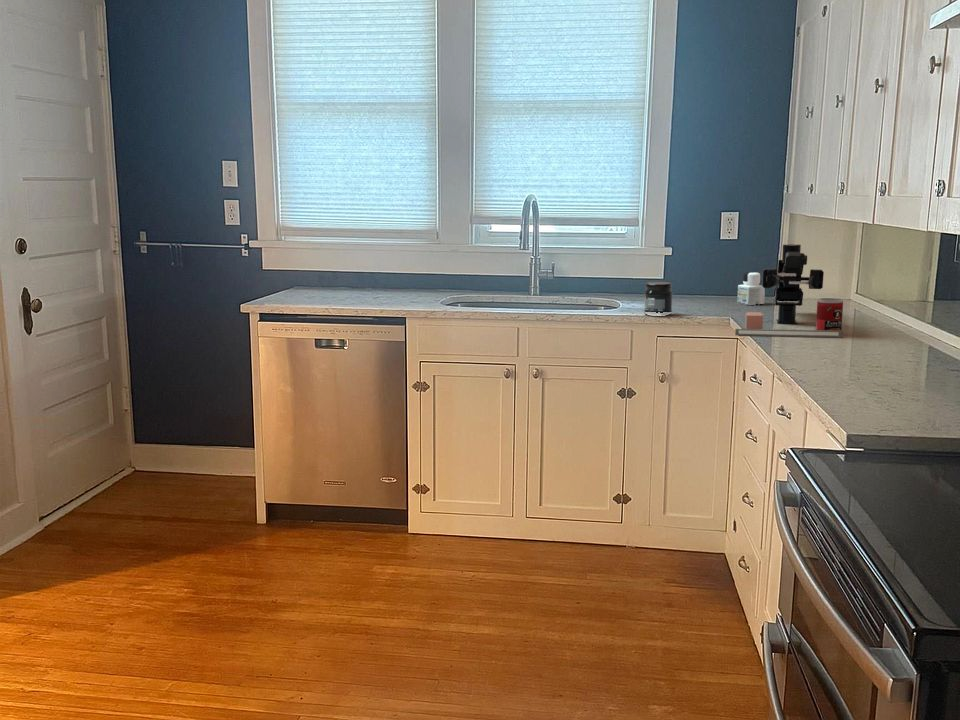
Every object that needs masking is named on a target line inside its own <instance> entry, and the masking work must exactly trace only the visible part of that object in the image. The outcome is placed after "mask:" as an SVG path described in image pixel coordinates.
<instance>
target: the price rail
mask: <svg viewBox="0 0 960 720" xmlns="http://www.w3.org/2000/svg"><path fill="white" fill-rule="evenodd" d="M734 333H735V336H752V337H753V336H756V337H760V336H762V337H765V336H766V337H793V338H794V337H795V338H796V337H802V338H806V337H807V338H808V337H809V338H842V337H843V330H842V331H833V330H816V329H775V328H774V329H773V328H772V329H770V328H766V329H765V328H763V329H745V328H735V332H734Z"/></svg>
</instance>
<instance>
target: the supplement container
mask: <svg viewBox="0 0 960 720" xmlns="http://www.w3.org/2000/svg"><path fill="white" fill-rule="evenodd" d="M643 294H644V300H643V301H644V305H643V312H644V311H645V312H656V313H658V312H660V313H663V312H672V313H673V294H674V292H673V291H672V282H669V281H667V282H666V281H649V282H646V283H645V291H644V292H643Z"/></svg>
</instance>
